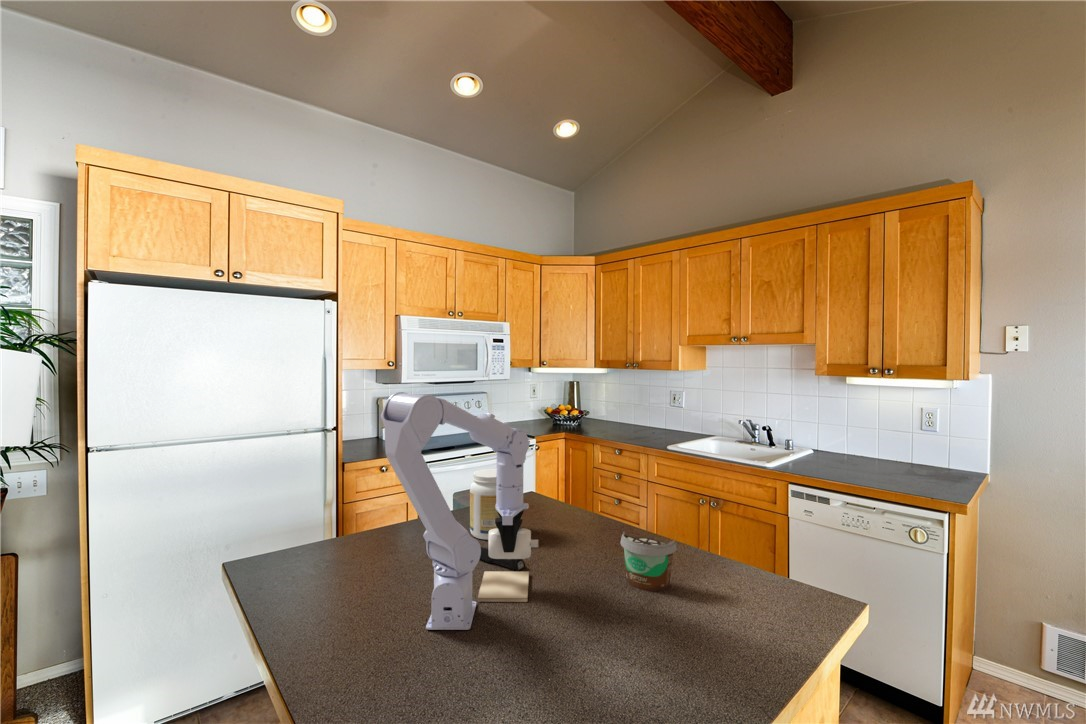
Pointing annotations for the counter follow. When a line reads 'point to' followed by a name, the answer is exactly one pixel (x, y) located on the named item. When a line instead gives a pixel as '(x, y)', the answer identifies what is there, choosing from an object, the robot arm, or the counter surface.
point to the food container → (648, 562)
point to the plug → (521, 546)
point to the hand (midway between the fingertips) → (509, 547)
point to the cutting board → (504, 586)
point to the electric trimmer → (503, 561)
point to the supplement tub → (483, 503)
